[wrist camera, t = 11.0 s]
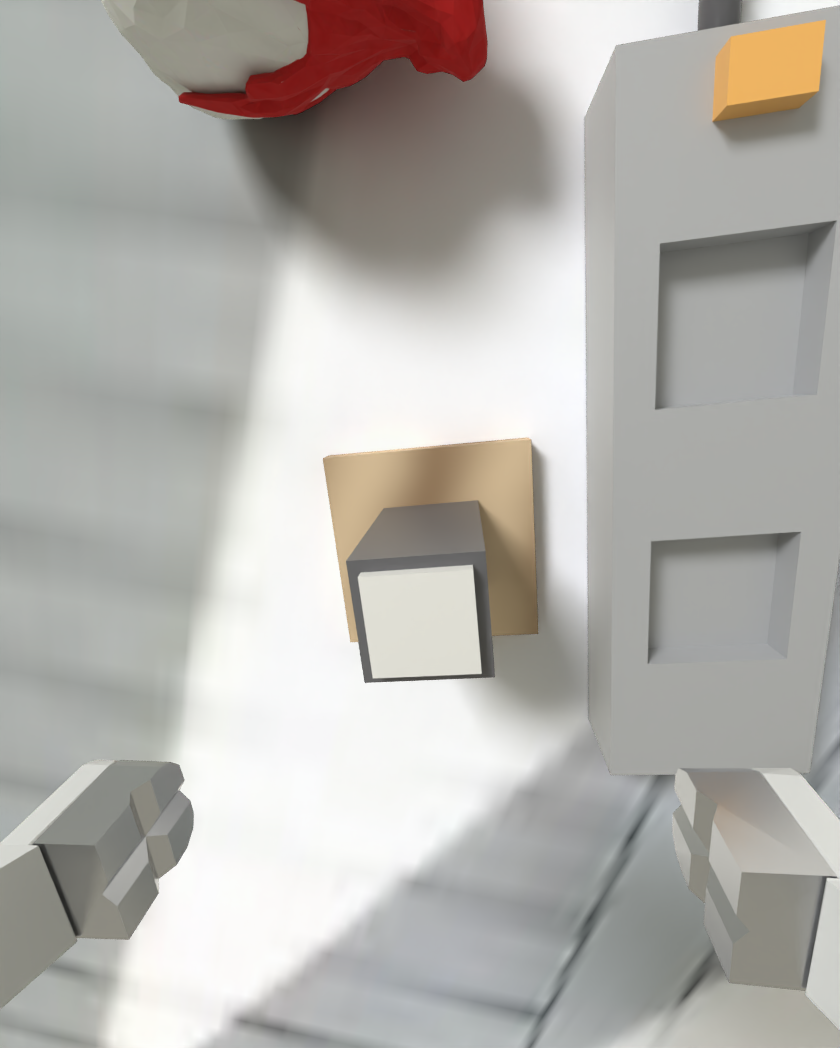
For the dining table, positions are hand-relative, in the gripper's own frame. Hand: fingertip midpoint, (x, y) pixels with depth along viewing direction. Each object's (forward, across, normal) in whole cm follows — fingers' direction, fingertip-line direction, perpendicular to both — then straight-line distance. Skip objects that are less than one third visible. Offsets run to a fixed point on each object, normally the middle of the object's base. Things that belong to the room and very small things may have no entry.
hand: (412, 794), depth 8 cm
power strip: (+15, -10, -5) cm, 19 cm away
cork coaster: (+15, +1, 0) cm, 15 cm away
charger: (+14, +1, 0) cm, 14 cm away
